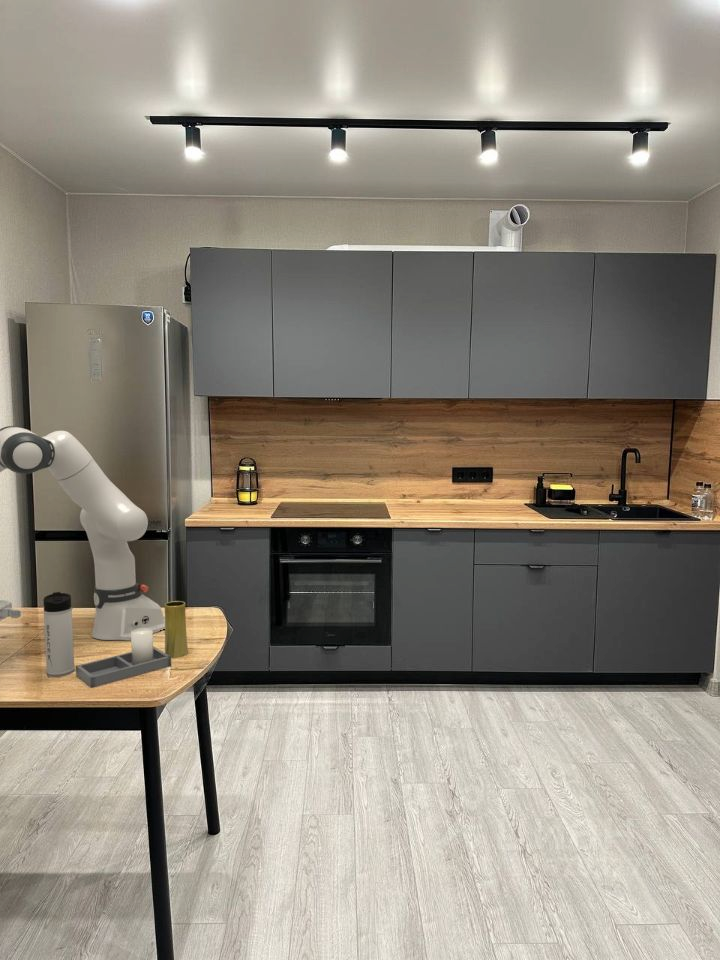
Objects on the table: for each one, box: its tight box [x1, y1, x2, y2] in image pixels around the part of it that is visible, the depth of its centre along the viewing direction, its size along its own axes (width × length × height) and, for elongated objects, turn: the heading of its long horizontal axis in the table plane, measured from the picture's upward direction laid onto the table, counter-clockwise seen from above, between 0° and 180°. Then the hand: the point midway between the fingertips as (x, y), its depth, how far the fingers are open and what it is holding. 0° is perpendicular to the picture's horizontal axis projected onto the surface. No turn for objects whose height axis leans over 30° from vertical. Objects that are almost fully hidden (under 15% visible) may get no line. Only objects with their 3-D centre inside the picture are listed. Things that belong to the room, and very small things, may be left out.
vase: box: [164, 600, 189, 659], centre depth 176 cm, size 6×6×14 cm
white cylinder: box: [130, 628, 154, 665], centre depth 168 cm, size 5×5×9 cm
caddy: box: [75, 645, 172, 689], centre depth 165 cm, size 20×10×3 cm, turn 132°
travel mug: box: [42, 591, 75, 679], centre depth 164 cm, size 6×7×20 cm
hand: (9, 619), depth 164 cm, fingers open, 8 cm apart
